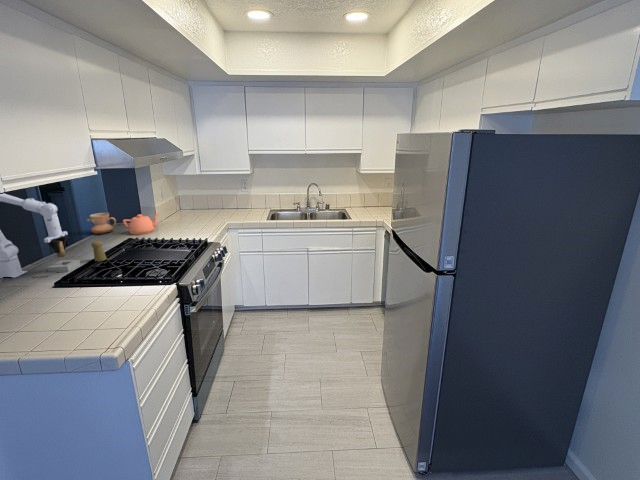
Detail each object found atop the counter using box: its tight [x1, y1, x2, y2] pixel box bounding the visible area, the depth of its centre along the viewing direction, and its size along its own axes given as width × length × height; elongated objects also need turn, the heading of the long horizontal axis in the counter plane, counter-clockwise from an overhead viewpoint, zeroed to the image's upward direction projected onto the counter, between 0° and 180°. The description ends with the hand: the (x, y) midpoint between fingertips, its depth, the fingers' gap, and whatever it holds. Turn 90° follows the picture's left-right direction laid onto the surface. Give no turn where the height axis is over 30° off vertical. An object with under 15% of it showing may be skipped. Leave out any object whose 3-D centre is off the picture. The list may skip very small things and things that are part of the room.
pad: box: [32, 270, 58, 279], centre depth 173 cm, size 8×8×1 cm
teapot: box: [122, 213, 160, 236], centre depth 246 cm, size 25×17×13 cm
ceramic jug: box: [86, 212, 117, 235], centre depth 249 cm, size 18×14×14 cm
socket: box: [47, 259, 81, 273], centre depth 180 cm, size 10×10×3 cm
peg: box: [56, 241, 67, 258], centre depth 177 cm, size 4×4×8 cm
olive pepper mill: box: [91, 240, 108, 262], centre depth 191 cm, size 6×6×11 cm
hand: (60, 251), depth 177 cm, fingers closed on peg, 3 cm apart
